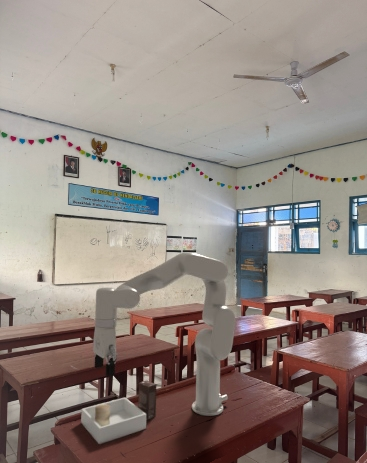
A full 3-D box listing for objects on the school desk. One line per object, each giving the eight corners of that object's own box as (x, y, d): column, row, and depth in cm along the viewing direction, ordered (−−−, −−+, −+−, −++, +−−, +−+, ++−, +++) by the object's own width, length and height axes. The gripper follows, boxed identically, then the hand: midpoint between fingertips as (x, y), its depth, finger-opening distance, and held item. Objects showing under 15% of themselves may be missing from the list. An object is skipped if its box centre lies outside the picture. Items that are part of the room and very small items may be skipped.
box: (156, 416, 131) (157, 384, 132) (147, 420, 128) (148, 387, 129) (146, 410, 136) (146, 379, 136) (137, 414, 132) (138, 382, 133)
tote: (124, 410, 135) (125, 397, 136) (146, 428, 122) (146, 414, 122) (81, 422, 125) (81, 408, 125) (99, 444, 112) (99, 428, 112)
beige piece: (92, 426, 122) (93, 406, 122) (106, 422, 124) (106, 402, 125) (97, 432, 117) (98, 411, 118) (111, 428, 120) (112, 408, 121)
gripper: (86, 319, 128) (85, 366, 127) (106, 328, 114) (104, 381, 113) (105, 317, 132) (104, 362, 131) (126, 326, 118) (124, 376, 117)
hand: (104, 371), depth 122 cm, fingers open, 9 cm apart
